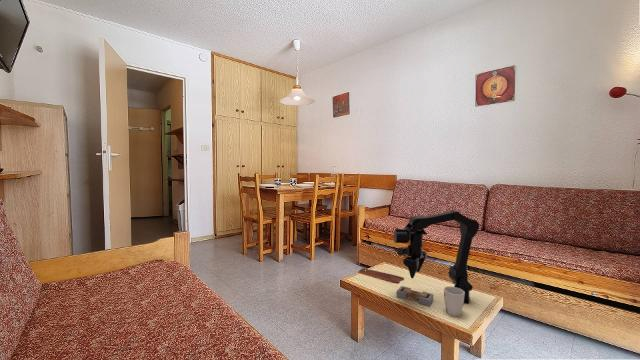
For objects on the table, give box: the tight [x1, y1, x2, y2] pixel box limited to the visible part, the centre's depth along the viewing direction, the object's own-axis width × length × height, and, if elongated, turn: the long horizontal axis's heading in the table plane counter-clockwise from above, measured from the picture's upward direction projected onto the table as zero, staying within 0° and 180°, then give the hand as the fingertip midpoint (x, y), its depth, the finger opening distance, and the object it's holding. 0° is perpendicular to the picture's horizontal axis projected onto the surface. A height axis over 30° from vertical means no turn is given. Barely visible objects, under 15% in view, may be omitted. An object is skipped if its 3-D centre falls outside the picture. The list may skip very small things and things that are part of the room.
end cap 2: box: [418, 291, 434, 307], centre depth 126 cm, size 5×7×3 cm, turn 144°
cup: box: [443, 286, 465, 317], centre depth 116 cm, size 8×8×10 cm
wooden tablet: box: [357, 267, 405, 285], centre depth 157 cm, size 27×10×2 cm, turn 53°
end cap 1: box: [395, 285, 412, 301], centre depth 132 cm, size 5×7×3 cm, turn 144°
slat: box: [403, 288, 428, 303], centre depth 129 cm, size 11×4×4 cm, turn 57°
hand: (414, 275), depth 128 cm, fingers open, 9 cm apart
